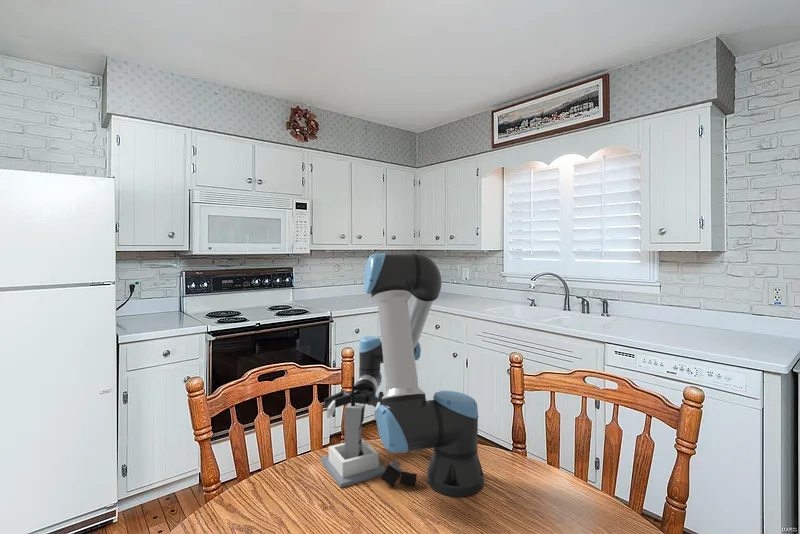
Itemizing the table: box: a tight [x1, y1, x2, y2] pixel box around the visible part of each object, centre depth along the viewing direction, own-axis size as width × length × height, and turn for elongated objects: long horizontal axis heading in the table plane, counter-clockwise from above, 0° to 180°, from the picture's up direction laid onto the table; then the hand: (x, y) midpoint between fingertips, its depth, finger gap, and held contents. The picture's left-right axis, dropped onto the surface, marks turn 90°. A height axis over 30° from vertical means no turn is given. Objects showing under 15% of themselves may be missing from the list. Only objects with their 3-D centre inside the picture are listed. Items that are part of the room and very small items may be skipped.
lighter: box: [379, 460, 418, 488], centre depth 108 cm, size 9×2×6 cm
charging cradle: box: [319, 438, 386, 488], centre depth 116 cm, size 16×14×5 cm
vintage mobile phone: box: [344, 376, 366, 460], centre depth 116 cm, size 4×5×25 cm
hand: (352, 414), depth 115 cm, fingers open, 13 cm apart
